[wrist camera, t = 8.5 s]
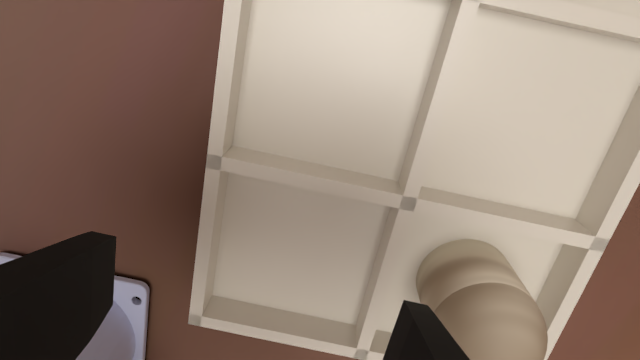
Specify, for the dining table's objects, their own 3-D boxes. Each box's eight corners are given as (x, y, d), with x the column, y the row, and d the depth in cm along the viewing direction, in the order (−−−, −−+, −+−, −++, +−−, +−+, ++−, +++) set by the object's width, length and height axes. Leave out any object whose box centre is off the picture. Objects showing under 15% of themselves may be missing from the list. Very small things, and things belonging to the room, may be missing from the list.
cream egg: (492, 325, 21) (541, 428, 15) (405, 307, 21) (425, 405, 15) (525, 249, 19) (592, 335, 14) (431, 230, 19) (463, 309, 14)
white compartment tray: (511, 359, 22) (529, 394, 20) (202, 295, 22) (188, 323, 20) (795, -229, 13) (878, -274, 11) (283, -350, 13) (271, -419, 11)
